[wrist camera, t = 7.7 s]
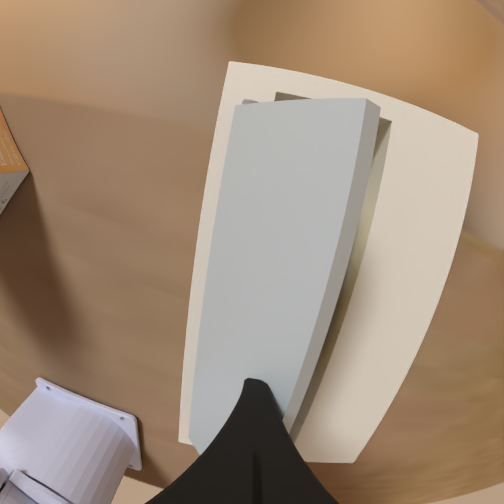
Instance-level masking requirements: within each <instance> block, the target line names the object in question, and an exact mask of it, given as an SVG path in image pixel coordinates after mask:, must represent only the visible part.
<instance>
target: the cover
mask: <svg viewBox="0 0 504 504" xmlns="http://www.w3.org/2000/svg"><path fill="white" fill-rule="evenodd" d="M380 110H381V107H379V106H378V105H376V104H375V103H373V102H371V101H370V100H368V99H367V98H326V99H300V100H284V101H271V102H261V103H259V102H257V101H254V100H248V99H244V100H243V101H242V105H235V109H234V114H233V119H232V124H231V130H230V135H229V140H228V146H227V151H226V157H225V162H224V168H223V174H222V179H221V185H220V191H219V197H218V203H217V209H216V216H215V222H214V228H213V235H212V241H211V248H210V255H209V261H208V268H207V275H206V283H205V290H204V297H203V305H202V313H201V321H200V329H199V337H198V345H197V354H196V363H195V372H194V382H193V391H192V401H191V412H190V423H189V435H188V437H189V439H190V441H191V442H192V444H193V445H194V447H195V448H196V450H197V451H198V453H199V454H200V455H201V454H202V453H203V452H204V451H205V450H206V448H207V447H208V446H209V445H210V443H211V442H212V441H213V440H214V438H215V437H216V435H217V434H218V433H219V431H220V430H221V428H222V427H223V426H224V424H225V423H226V421H227V419H228V418H229V416H230V414H231V412H232V411H233V409H234V407H235V405H236V403H237V401H238V399H239V397H240V395H241V392H242V388H243V384H244V380H245V379H247V378H253V379H260V380H262V381H264V382H265V383H267V384H268V386H269V387H270V389H271V393H272V396H273V399H274V402H275V404H276V407H277V409H278V412H279V414H280V417H281V419H282V421H283V423H284V425H285V427H286V430H287V432H288V434H289V433H290V430H291V428H292V426H293V423H294V421H295V418H296V416H297V414H298V411H299V409H300V406H301V404H302V401H303V399H304V396H305V393H306V391H307V388H308V385H309V383H310V380H311V377H312V375H313V372H314V369H315V367H316V364H317V361H318V358H319V355H320V352H321V350H322V347H323V344H324V341H325V338H326V335H327V332H328V329H329V326H330V323H331V319H332V316H333V313H334V310H335V307H336V303H337V300H338V297H339V294H340V290H341V287H342V283H343V280H344V276H345V273H346V269H347V266H348V262H349V258H350V255H351V251H352V247H353V243H354V239H355V235H356V231H357V227H358V223H359V219H360V215H361V210H362V206H363V201H364V197H365V192H366V188H367V183H368V178H369V173H370V168H371V163H372V158H373V152H374V147H375V141H376V135H377V129H378V123H379V117H380Z"/></svg>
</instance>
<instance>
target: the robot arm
mask: <svg viewBox="0 0 504 504" xmlns="http://www.w3.org/2000/svg"><path fill="white" fill-rule="evenodd" d="M36 385H37V388H36V389H35V390H34V391H33V392H32V394H31V395H30V396H29V397H28V398H27V399H26V400H25V401H24V402H23V404H22V405H21V406H20V407H19V408H18V409H17V410H16V412H15V413H14V414H13V415H12V416H11V417H10V418H9V420H8V421H7V422H6V423H5V424H4V426H3V427H2V428H1V430H0V504H111V502H112V500H113V498H114V495H115V493H116V491H117V488H118V486H119V484H120V482H121V479H122V477H123V475H124V472H125V470H126V468H127V467H129V468H132V469H134V470H138V471H140V470H141V469H142V461H141V453H140V444H139V435H138V425H137V419H136V418H135V417H134V416H133V415H131V414H128V413H125V412H122V411H119V410H117V409H114V408H111V407H108V406H105V405H103V404H100V403H97V402H95V401H92V400H90V399H87V398H85V397H82V396H80V395H78V394H75V393H73V392H71V391H68V390H66V389H64V388H62V387H59V386H57V385H55V384H53V383H51V382H49V381H47V380H45V379H42V378H40V377H38V378H37V379H36ZM145 504H339V503H338V502H337V501H336V500H335V499H334V498H333V497H332V496H331V495H330V494H329V493H328V492H327V490H326V489H325V488H324V487H323V486H322V484H321V483H320V482H319V481H318V479H317V478H316V477H315V476H314V474H313V473H312V471H311V470H310V469H309V467H308V466H307V464H306V463H305V461H304V460H303V458H302V457H301V455H300V453H299V452H298V450H297V448H296V446H295V445H294V443H293V441H292V439H291V437H290V436H289V434H288V432H287V430H286V427H285V425H284V423H283V421H282V419H281V417H280V414H279V412H278V409H277V407H276V404H275V402H274V399H273V396H272V393H271V389H270V387H269V386H268V384H267V383H265V382H264V381H262V380H260V379H253V378H247V379H245V380H244V384H243V388H242V392H241V395H240V397H239V399H238V401H237V403H236V405H235V407H234V409H233V411H232V412H231V414H230V416H229V418H228V419H227V421H226V423H225V424H224V426H223V427H222V428H221V430H220V431H219V433H218V434H217V435H216V437H215V438H214V440H213V441H212V442H211V443H210V445H209V446H208V447H207V448H206V450H205V451H204V452H203V453H202V454H201V455H200V456H199V457H198V459H197V460H196V461H195V462H194V463H193V464H192V465H191V466H190V467H189V468H188V469H187V470H186V471H185V472H184V473H183V474H182V475H181V476H179V477H178V478H177V479H176V480H175V481H174V482H173V483H171V484H170V485H169V486H168V487H166V488H165V489H164V490H163V491H161V492H160V493H159V494H157V495H156V496H155V497H154V498H152V499H151V500H149V501H148V502H146V503H145Z"/></svg>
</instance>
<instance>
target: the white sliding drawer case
mask: <svg viewBox="0 0 504 504" xmlns="http://www.w3.org/2000/svg"><path fill="white" fill-rule="evenodd" d="M326 98H367V99H368V100H370V101H371V102H373V103H375V104H376V105H378V106H379V107H381V110H380V117H379V123H378V129H377V135H376V141H375V147H374V152H373V158H372V163H371V168H370V173H369V178H368V183H367V188H366V192H365V197H364V201H363V206H362V210H361V215H360V219H359V223H358V227H357V231H356V235H355V239H354V243H353V247H352V251H351V255H350V258H349V262H348V266H347V269H346V273H345V276H344V280H343V283H342V287H341V290H340V294H339V297H338V300H337V303H336V307H335V310H334V313H333V316H332V319H331V323H330V326H329V329H328V332H327V335H326V338H325V341H324V344H323V347H322V350H321V352H320V355H319V358H318V361H317V364H316V367H315V369H314V372H313V375H312V377H311V380H310V383H309V385H308V388H307V391H306V393H305V396H304V399H303V401H302V404H301V406H300V409H299V411H298V414H297V416H296V418H295V421H294V423H293V426H292V428H291V430H290V433H289V436H290V437H291V439H292V441H293V443H294V445H295V446H296V448H297V450H298V452H299V453H300V455H301V457H302V458H303V460H304V461H305V462H322V463H354V461H355V460H356V458H357V457H358V455H359V454H360V452H361V451H362V449H363V448H364V447H365V445H366V443H367V442H368V440H369V439H370V437H371V436H372V434H373V433H374V431H375V429H376V428H377V426H378V425H379V423H380V421H381V420H382V418H383V416H384V415H385V413H386V411H387V409H388V408H389V406H390V404H391V402H392V401H393V399H394V397H395V395H396V393H397V392H398V390H399V388H400V386H401V384H402V382H403V380H404V378H405V376H406V374H407V372H408V370H409V368H410V366H411V364H412V362H413V360H414V358H415V356H416V354H417V352H418V349H419V347H420V345H421V343H422V341H423V338H424V336H425V334H426V331H427V329H428V327H429V324H430V322H431V319H432V317H433V314H434V312H435V309H436V307H437V304H438V301H439V299H440V296H441V293H442V290H443V288H444V285H445V282H446V279H447V276H448V273H449V270H450V267H451V263H452V260H453V257H454V254H455V250H456V247H457V243H458V240H459V236H460V232H461V228H462V224H463V220H464V216H465V212H466V207H467V203H468V198H469V193H470V188H471V183H472V177H473V171H474V165H475V158H476V152H477V143H478V135H479V134H477V133H475V132H473V131H471V130H469V129H467V128H465V127H463V126H461V125H459V124H457V123H455V122H452V121H450V120H448V119H445V118H443V117H441V116H439V115H436V114H434V113H432V112H429V111H427V110H424V109H421V108H419V107H417V106H414V105H411V104H409V103H406V102H403V101H401V100H398V99H395V98H392V97H389V96H386V95H383V94H380V93H377V92H374V91H371V90H367V89H364V88H361V87H357V86H354V85H350V84H347V83H343V82H339V81H335V80H332V79H327V78H323V77H319V76H315V75H310V74H306V73H301V72H295V71H290V70H286V69H280V68H274V67H268V66H262V65H255V64H248V63H239V62H231V61H229V65H228V70H227V74H226V79H225V84H224V88H223V94H222V98H221V103H220V108H219V113H218V118H217V123H216V128H215V134H214V139H213V145H212V150H211V156H210V161H209V167H208V173H207V179H206V185H205V191H204V198H203V204H202V211H201V217H200V224H199V231H198V238H197V246H196V253H195V261H194V268H193V276H192V285H191V293H190V302H189V311H188V321H187V331H186V341H185V352H184V364H183V376H182V390H181V405H180V422H179V442H182V443H186V444H190V445H193V444H192V442H191V441H190V439H189V437H188V435H189V423H190V412H191V401H192V391H193V382H194V372H195V363H196V354H197V345H198V337H199V329H200V321H201V313H202V305H203V297H204V290H205V283H206V275H207V268H208V261H209V255H210V248H211V241H212V235H213V228H214V222H215V216H216V209H217V203H218V197H219V191H220V185H221V179H222V174H223V168H224V162H225V157H226V151H227V146H228V140H229V135H230V130H231V124H232V119H233V114H234V109H235V105H242V101H243V100H244V99H248V100H254V101H257V102H259V103H261V102H271V101H284V100H300V99H326Z"/></svg>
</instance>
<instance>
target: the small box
mask: <svg viewBox="0 0 504 504" xmlns="http://www.w3.org/2000/svg"><path fill="white" fill-rule="evenodd" d="M28 173H29V169H28V167H27V165H26V163H25V162H24V160H23V158H22V156H21V154H20V152H19V150H18V148H17V146H16V144H15V142H14V140H13V138H12V135H11V133H10V131H9V128H8V126H7V123H6V121H5V118H4V116H3V114H2V111H1V108H0V214H1V213H2V211H3V210H4V208H5V206H6V205H7V203H8V202H9V200H10V199H11V197H12V196H13V194H14V192H15V191H16V190H17V188H18V187H19V185H20V184H21V182H22V181H23V179H24V178H25V177H26V175H27V174H28Z"/></svg>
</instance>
